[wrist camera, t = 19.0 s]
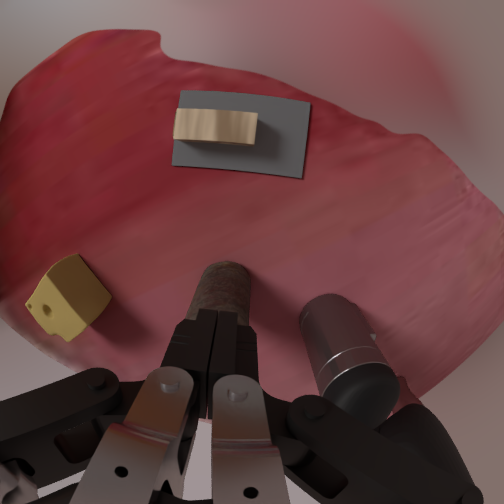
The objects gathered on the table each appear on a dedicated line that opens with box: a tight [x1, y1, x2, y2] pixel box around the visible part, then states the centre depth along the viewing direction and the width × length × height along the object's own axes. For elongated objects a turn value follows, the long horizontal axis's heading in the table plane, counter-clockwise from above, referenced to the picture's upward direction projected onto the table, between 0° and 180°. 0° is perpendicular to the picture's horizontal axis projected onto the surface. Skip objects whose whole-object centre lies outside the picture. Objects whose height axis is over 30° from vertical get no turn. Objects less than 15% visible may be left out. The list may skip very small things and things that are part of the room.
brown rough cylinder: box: [185, 261, 251, 326], centre depth 32 cm, size 8×7×20 cm
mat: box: [172, 91, 310, 178], centre depth 35 cm, size 18×11×1 cm, turn 84°
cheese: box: [25, 254, 112, 342], centre depth 37 cm, size 10×11×10 cm
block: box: [173, 108, 258, 147], centre depth 32 cm, size 4×4×10 cm
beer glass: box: [392, 376, 425, 414], centre depth 43 cm, size 7×7×15 cm
